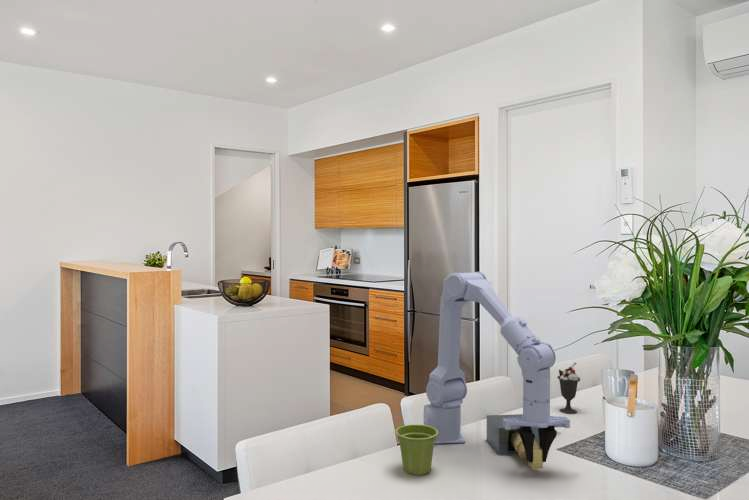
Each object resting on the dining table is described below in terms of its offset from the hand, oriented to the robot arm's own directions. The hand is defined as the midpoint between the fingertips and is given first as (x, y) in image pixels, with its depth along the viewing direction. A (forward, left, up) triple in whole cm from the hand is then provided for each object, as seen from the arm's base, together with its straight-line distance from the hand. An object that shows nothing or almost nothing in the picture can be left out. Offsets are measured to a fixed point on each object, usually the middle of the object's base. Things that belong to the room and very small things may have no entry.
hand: (536, 460), depth 120 cm
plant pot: (-26, +4, -3) cm, 26 cm away
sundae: (+27, +43, -3) cm, 50 cm away
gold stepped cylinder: (0, +6, -2) cm, 6 cm away
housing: (0, +16, -3) cm, 16 cm away
